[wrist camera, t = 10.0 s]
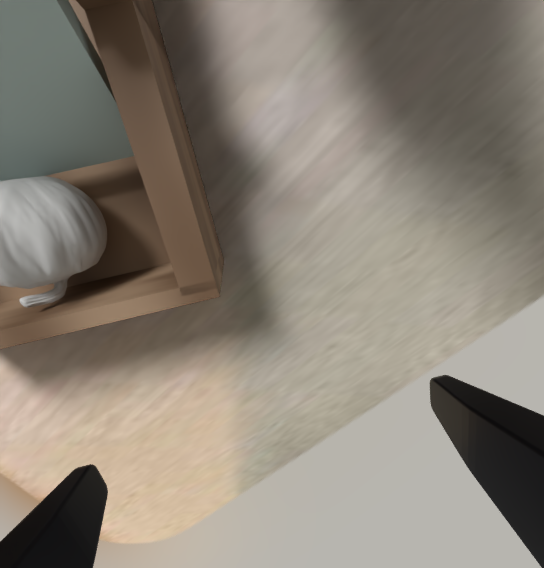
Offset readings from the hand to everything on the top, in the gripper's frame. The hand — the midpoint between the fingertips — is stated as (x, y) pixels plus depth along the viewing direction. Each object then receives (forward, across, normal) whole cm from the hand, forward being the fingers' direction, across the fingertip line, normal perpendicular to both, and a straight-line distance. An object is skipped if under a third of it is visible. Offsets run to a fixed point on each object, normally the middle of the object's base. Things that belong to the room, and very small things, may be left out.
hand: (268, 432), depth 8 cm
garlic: (+8, +8, -8) cm, 14 cm away
